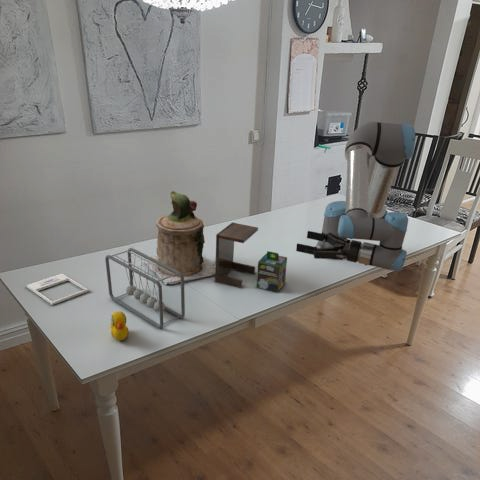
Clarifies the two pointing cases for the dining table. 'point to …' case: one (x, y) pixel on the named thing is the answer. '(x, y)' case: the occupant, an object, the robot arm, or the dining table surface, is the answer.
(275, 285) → the chalk box
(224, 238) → the walnut rack
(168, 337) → the dining table surface
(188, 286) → the dining table surface
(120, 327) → the duckling
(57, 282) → the photo frame
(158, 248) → the cookie jar
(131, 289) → the newton's cradle
